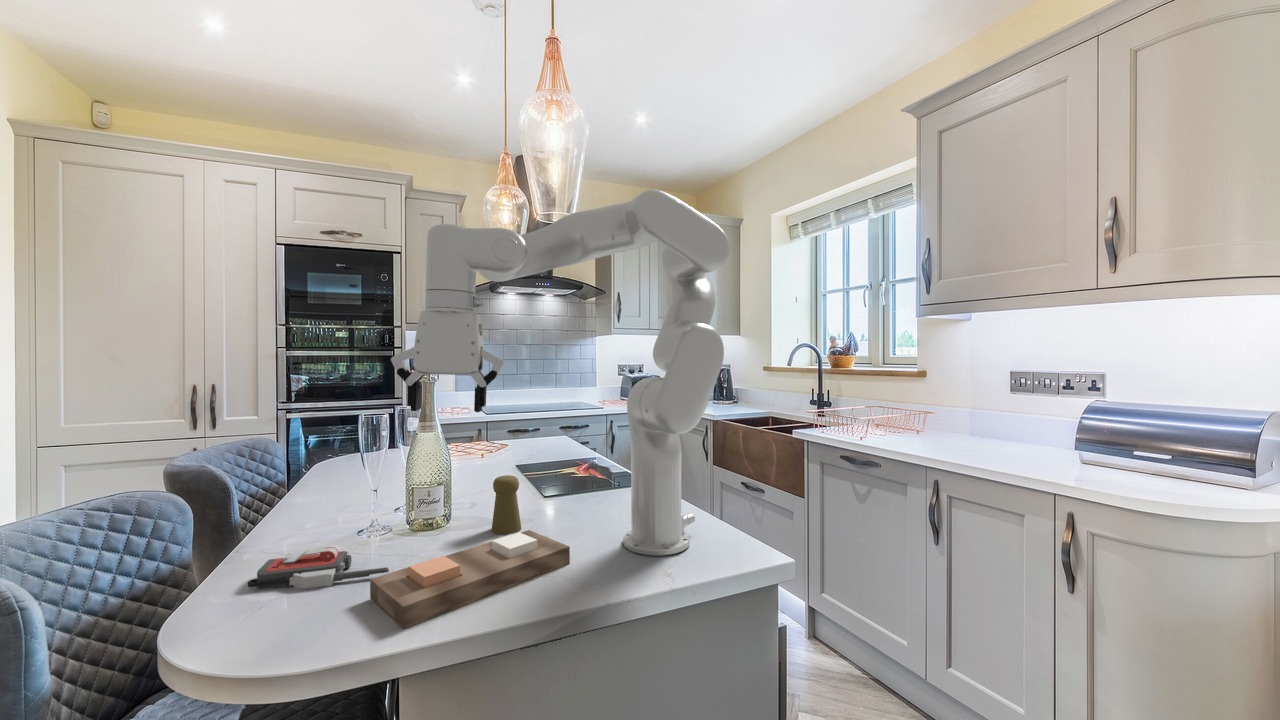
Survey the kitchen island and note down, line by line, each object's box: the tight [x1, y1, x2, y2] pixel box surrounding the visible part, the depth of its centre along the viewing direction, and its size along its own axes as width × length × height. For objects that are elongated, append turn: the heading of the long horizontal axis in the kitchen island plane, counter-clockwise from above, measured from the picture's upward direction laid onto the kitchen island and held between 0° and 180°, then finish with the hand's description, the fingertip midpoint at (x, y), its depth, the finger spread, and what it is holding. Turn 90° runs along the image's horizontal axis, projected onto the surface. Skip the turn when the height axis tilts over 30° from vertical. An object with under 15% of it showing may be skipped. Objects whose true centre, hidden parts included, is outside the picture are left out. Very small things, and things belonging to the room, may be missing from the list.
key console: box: [369, 529, 571, 630], centre depth 81 cm, size 28×12×3 cm, turn 137°
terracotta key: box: [408, 555, 460, 589], centre depth 76 cm, size 5×5×2 cm
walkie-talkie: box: [247, 546, 390, 590], centre depth 83 cm, size 9×4×20 cm
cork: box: [491, 474, 522, 536], centre depth 105 cm, size 6×6×11 cm
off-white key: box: [491, 531, 537, 559], centre depth 86 cm, size 5×5×2 cm
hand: (447, 410), depth 81 cm, fingers open, 9 cm apart
